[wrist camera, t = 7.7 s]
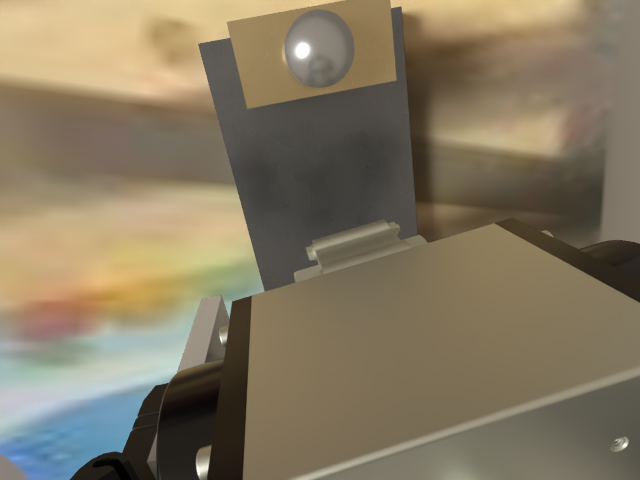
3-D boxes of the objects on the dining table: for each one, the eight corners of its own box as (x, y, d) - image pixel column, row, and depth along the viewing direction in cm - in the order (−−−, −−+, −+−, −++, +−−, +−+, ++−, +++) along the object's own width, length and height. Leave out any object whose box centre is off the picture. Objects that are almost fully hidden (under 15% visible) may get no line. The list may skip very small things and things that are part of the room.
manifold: (418, 332, 28) (467, 421, 21) (286, 360, 28) (290, 460, 21) (392, 11, 20) (461, -28, 12) (203, 46, 19) (160, 27, 12)
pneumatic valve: (206, 253, 16) (66, 648, 4) (475, 174, 16) (961, 351, 5) (249, 357, 18) (227, 805, 6) (486, 285, 18) (843, 587, 7)
